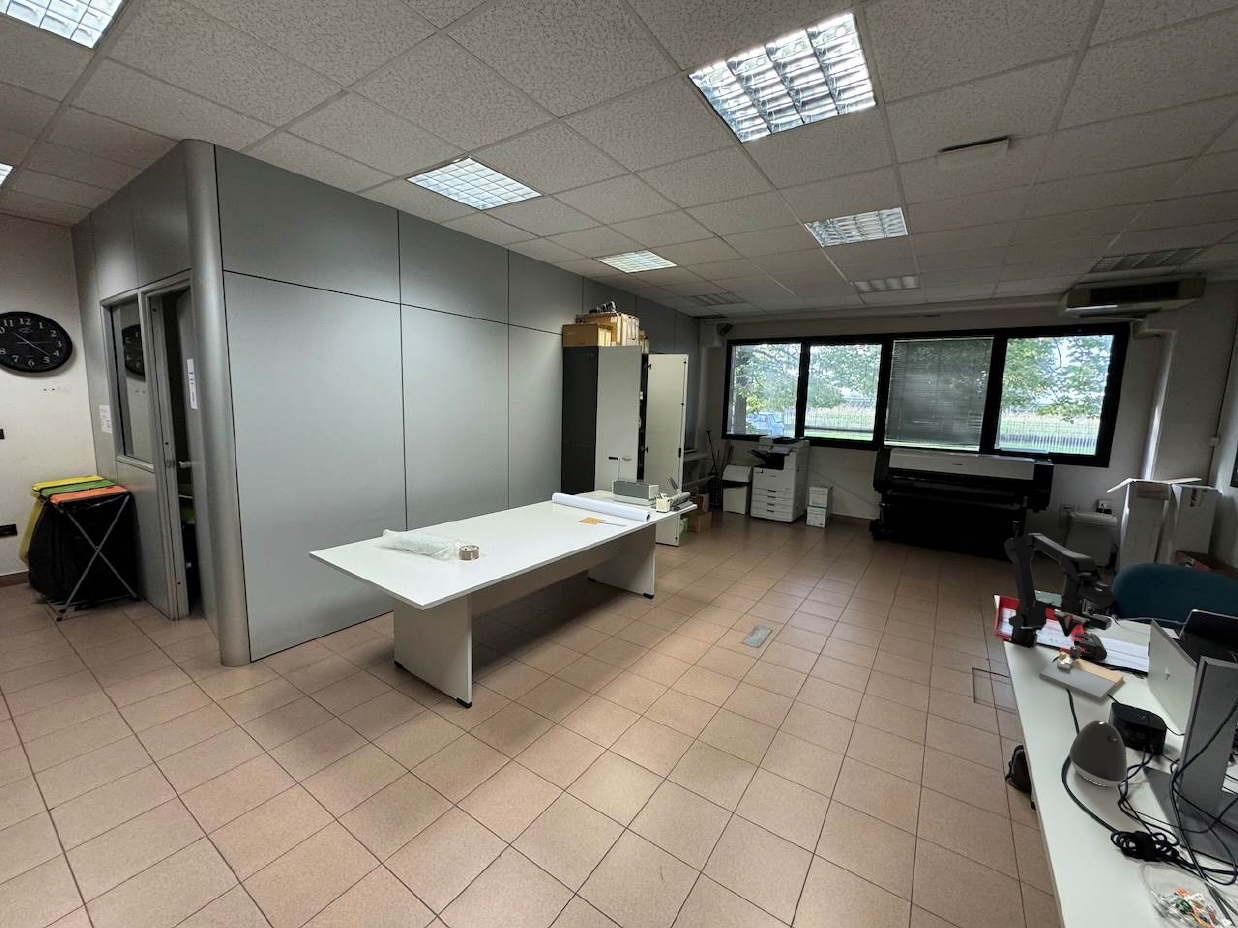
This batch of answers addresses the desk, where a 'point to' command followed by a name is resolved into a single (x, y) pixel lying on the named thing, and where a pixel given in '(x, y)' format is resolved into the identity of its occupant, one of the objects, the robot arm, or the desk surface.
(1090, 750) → the egg shaped dome
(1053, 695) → the desk surface
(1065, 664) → the door handle
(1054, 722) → the desk surface
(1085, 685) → the door board
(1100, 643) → the end cap
